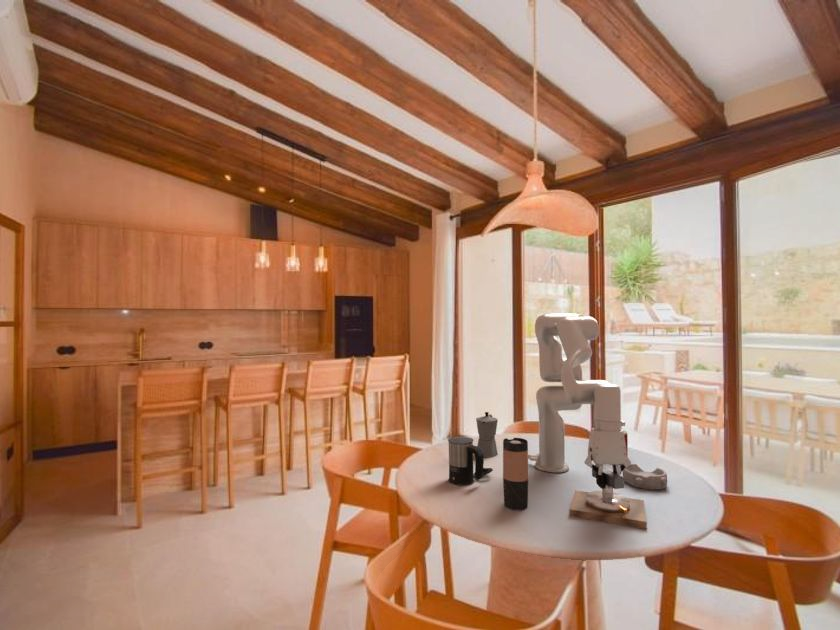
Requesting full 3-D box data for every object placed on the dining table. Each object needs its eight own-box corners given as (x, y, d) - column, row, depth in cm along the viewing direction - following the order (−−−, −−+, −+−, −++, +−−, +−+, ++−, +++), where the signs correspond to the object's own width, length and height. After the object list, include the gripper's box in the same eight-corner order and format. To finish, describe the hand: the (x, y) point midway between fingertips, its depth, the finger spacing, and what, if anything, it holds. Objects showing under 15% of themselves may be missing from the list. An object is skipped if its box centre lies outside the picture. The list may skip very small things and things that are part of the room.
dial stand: (569, 516, 129) (569, 508, 129) (575, 496, 144) (575, 489, 144) (646, 529, 121) (646, 521, 121) (644, 506, 136) (644, 499, 136)
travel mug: (523, 512, 132) (523, 445, 132) (499, 507, 136) (499, 441, 136) (531, 503, 138) (531, 439, 139) (508, 498, 143) (508, 436, 143)
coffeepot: (494, 459, 183) (494, 415, 183) (472, 457, 186) (472, 414, 186) (501, 449, 197) (501, 409, 197) (481, 447, 200) (480, 407, 201)
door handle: (578, 497, 137) (578, 466, 138) (612, 494, 140) (612, 464, 140) (607, 517, 124) (606, 483, 124) (644, 513, 126) (644, 479, 126)
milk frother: (443, 483, 156) (443, 441, 157) (459, 469, 171) (459, 431, 171) (482, 490, 150) (482, 445, 150) (495, 475, 164) (495, 435, 165)
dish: (620, 475, 165) (620, 461, 165) (662, 479, 160) (662, 465, 160) (625, 489, 151) (625, 474, 151) (671, 494, 146) (671, 478, 147)
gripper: (628, 422, 137) (629, 482, 137) (575, 422, 137) (575, 482, 136) (641, 428, 130) (641, 491, 129) (584, 428, 129) (585, 492, 129)
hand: (607, 486), depth 133 cm, fingers closed on door handle, 3 cm apart
